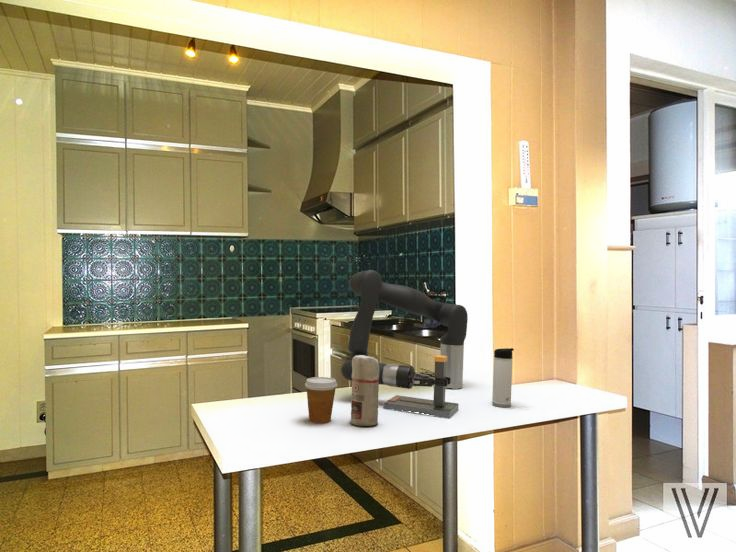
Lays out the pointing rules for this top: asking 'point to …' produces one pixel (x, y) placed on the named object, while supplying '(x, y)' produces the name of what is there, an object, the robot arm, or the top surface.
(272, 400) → the top surface
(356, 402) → the spray can
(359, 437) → the top surface
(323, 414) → the disposable coffee cup
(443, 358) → the lever
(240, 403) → the top surface
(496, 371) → the travel mug
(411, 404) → the switch base
